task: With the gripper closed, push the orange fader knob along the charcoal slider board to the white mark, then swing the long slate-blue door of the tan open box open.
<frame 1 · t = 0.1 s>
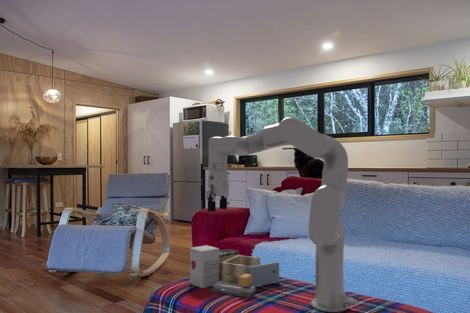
hand: (217, 210, 157), 31 cm above the table, tool pointing down, fingers open, 9 cm apart
fader knob: (245, 282, 150), point 4 cm above the table, slide at 0.0 cm
fader board: (233, 291, 152), on the table
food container: (224, 273, 179), on the table
supplement box: (204, 284, 162), on the table
rack door: (263, 274, 160), point 4 cm above the table, hinge at 30.0°
tan open box: (240, 281, 166), on the table
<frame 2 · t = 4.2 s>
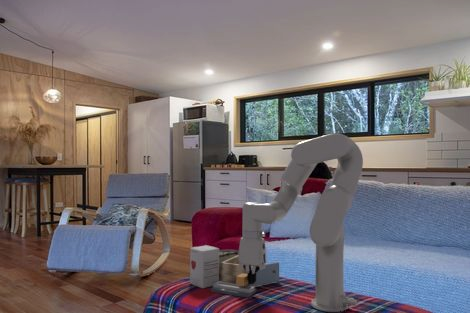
hand: (251, 283, 149), 4 cm above the table, tool pointing down, fingers closed
fader knob: (243, 282, 150), point 4 cm above the table, slide at 1.0 cm, touching gripper
everything else where it was.
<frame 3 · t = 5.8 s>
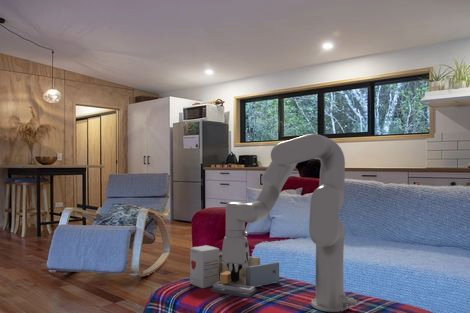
hand: (235, 281, 152), 4 cm above the table, tool pointing down, fingers closed
fader knob: (226, 279, 154), point 4 cm above the table, slide at 8.2 cm, touching gripper
everything else where it was.
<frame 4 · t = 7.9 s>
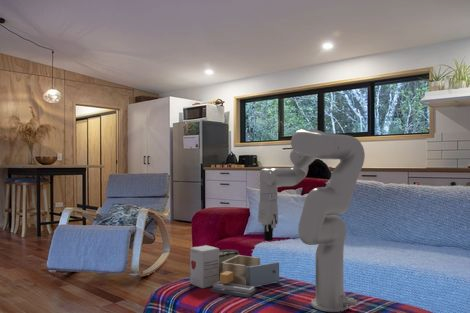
hand: (268, 240, 167), 17 cm above the table, tool pointing down, fingers closed
fader knob: (226, 279, 154), point 4 cm above the table, slide at 8.2 cm
everything else where it was.
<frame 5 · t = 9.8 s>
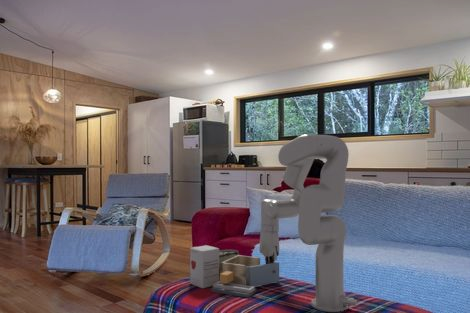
hand: (269, 271, 166), 4 cm above the table, tool pointing down, fingers closed
rack door: (263, 274, 160), point 4 cm above the table, hinge at 30.0°, touching gripper
everything else where it was.
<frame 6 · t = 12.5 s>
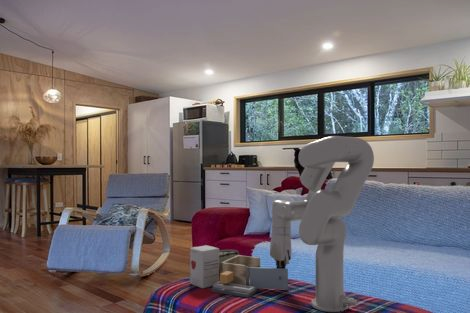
hand: (280, 276, 157), 5 cm above the table, tool pointing down, fingers closed
rack door: (266, 278, 155), point 4 cm above the table, hinge at 71.3°, touching gripper
everything else where it was.
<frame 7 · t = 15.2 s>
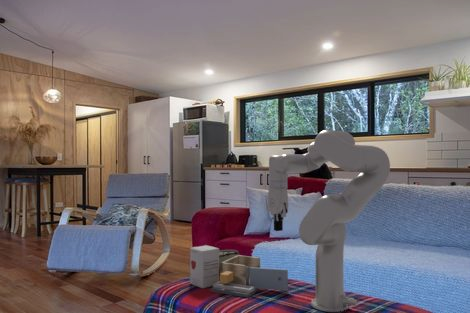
hand: (278, 230, 159), 23 cm above the table, tool pointing down, fingers closed
rack door: (266, 279, 154), point 4 cm above the table, hinge at 76.9°
everything else where it was.
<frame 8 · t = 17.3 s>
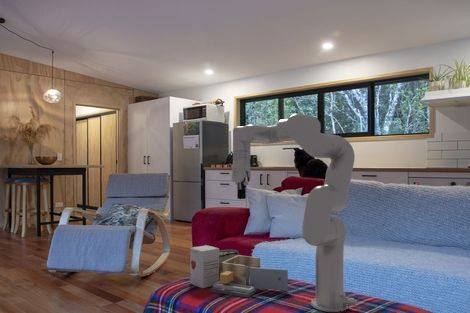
hand: (241, 198, 166), 35 cm above the table, tool pointing down, fingers closed
nothing on the table moved.
at the end: fader knob slide at 8.2 cm; rack door at +77° (first picture: +30°) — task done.
